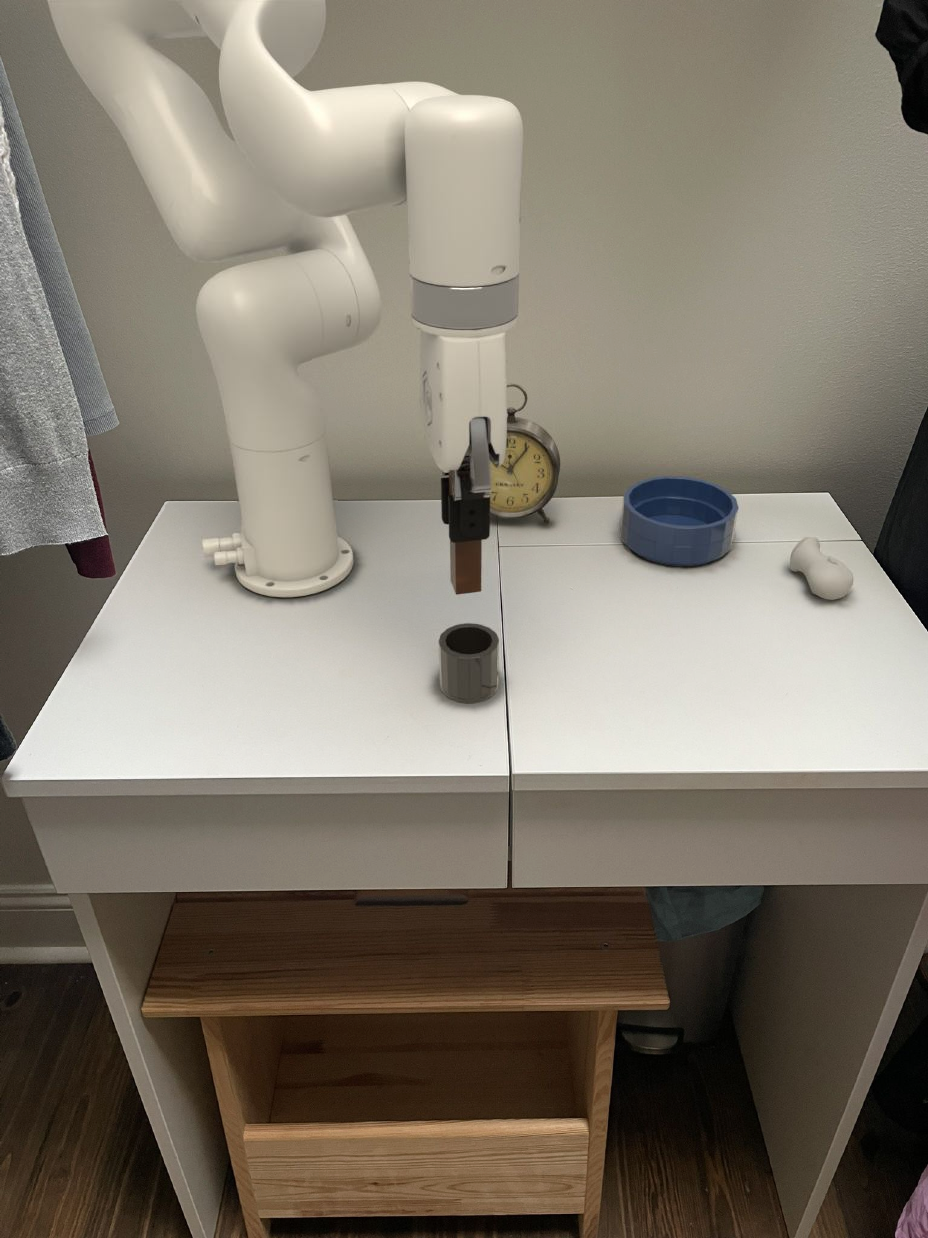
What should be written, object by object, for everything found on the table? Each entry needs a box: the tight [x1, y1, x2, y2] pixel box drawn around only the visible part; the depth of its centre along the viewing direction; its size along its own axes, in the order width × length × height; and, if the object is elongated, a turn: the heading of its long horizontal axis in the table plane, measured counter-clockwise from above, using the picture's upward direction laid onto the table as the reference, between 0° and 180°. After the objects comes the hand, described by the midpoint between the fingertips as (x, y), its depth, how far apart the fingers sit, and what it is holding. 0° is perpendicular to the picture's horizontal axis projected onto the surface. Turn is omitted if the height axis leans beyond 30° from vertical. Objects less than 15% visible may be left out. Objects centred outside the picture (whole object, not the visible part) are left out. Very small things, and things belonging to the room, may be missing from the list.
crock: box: [438, 622, 500, 704], centre depth 84 cm, size 5×5×5 cm
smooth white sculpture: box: [789, 536, 854, 601], centre depth 97 cm, size 4×8×5 cm
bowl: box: [619, 475, 739, 567], centre depth 104 cm, size 12×12×5 cm
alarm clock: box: [490, 383, 561, 524], centre depth 106 cm, size 11×5×16 cm, turn 81°
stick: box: [448, 470, 483, 596], centre depth 76 cm, size 2×2×11 cm
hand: (465, 528), depth 76 cm, fingers closed on stick, 2 cm apart
